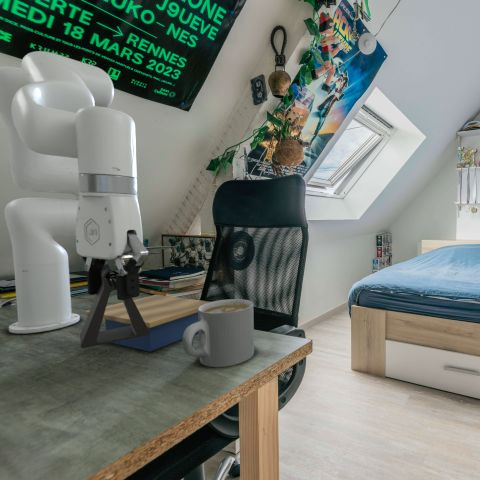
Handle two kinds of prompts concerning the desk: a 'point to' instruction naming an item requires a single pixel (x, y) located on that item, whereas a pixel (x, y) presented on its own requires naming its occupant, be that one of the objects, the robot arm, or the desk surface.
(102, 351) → the desk surface
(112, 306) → the oak board
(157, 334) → the blue box
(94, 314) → the phone stand
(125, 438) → the desk surface
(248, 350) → the coffee mug
